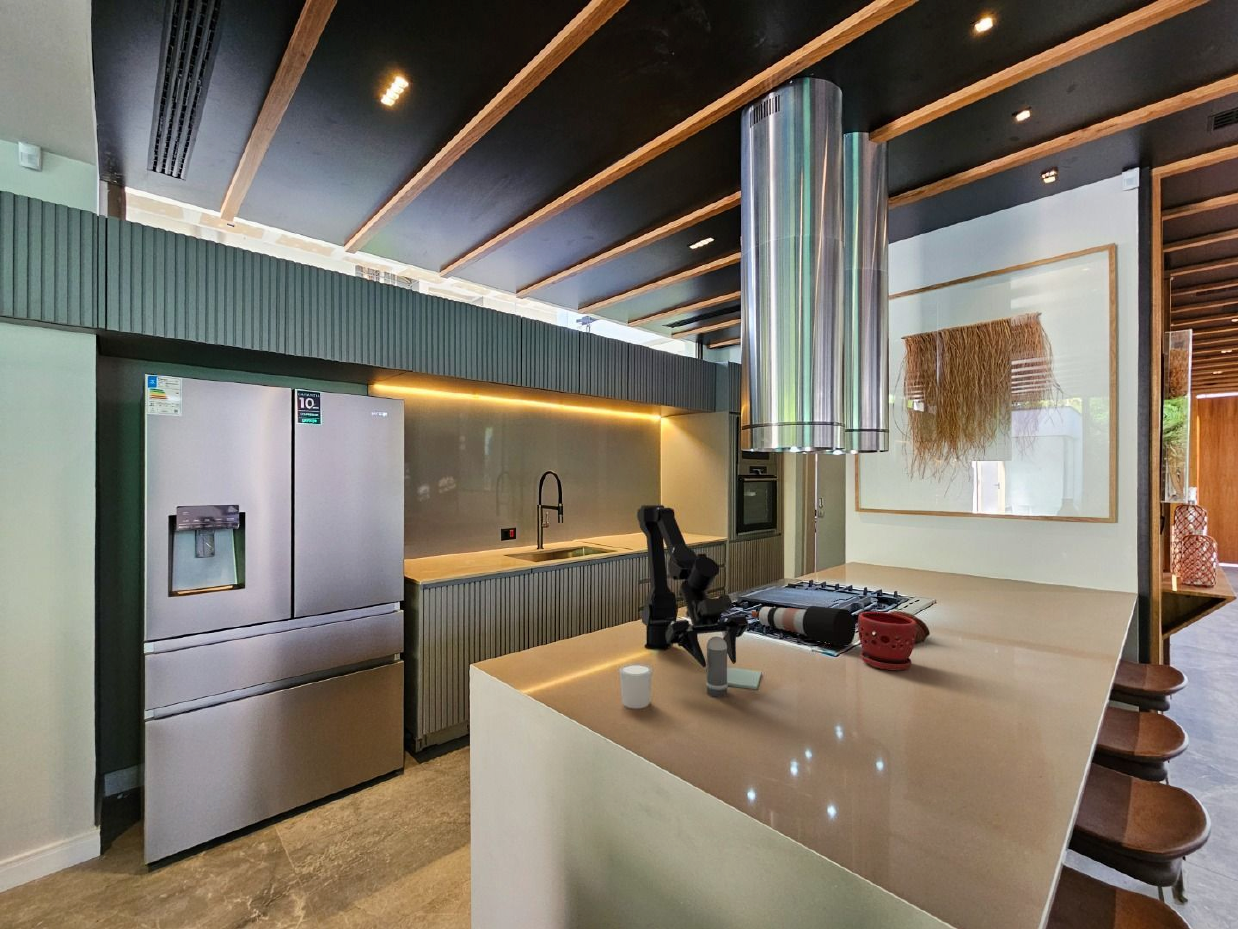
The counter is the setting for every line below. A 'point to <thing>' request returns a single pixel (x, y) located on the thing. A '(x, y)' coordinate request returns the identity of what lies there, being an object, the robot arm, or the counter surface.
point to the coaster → (743, 678)
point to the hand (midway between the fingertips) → (719, 664)
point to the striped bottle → (812, 622)
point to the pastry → (921, 627)
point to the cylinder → (717, 667)
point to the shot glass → (635, 685)
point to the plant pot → (886, 639)
